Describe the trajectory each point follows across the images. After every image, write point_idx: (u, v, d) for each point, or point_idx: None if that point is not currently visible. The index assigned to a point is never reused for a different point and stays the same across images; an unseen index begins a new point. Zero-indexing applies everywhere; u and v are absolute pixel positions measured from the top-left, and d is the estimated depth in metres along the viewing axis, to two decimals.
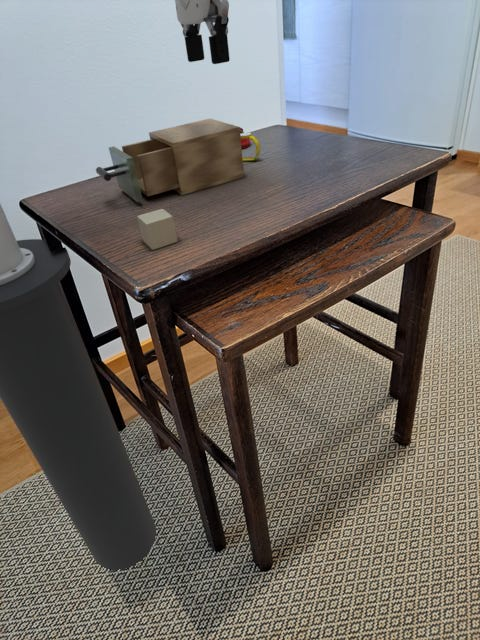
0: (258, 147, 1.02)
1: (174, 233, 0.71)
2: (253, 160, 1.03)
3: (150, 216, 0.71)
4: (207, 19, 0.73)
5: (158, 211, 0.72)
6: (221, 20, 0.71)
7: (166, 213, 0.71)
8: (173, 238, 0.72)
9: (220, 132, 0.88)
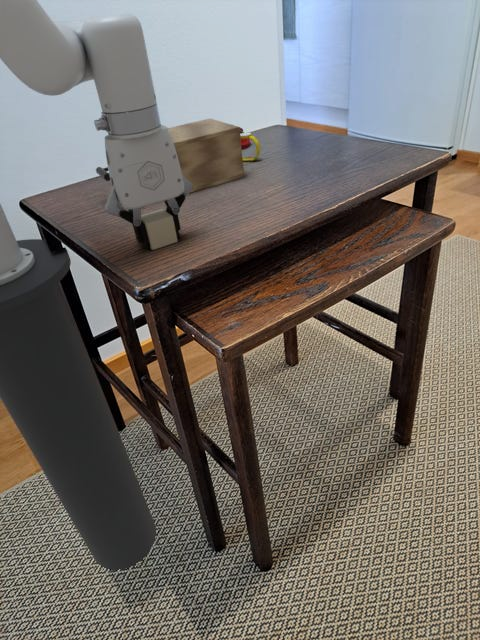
0: (258, 147, 1.02)
1: (174, 233, 0.71)
2: (253, 160, 1.04)
3: (150, 216, 0.71)
4: (173, 198, 0.69)
5: (158, 211, 0.72)
6: None
7: (166, 213, 0.71)
8: (173, 238, 0.72)
9: (220, 132, 0.88)
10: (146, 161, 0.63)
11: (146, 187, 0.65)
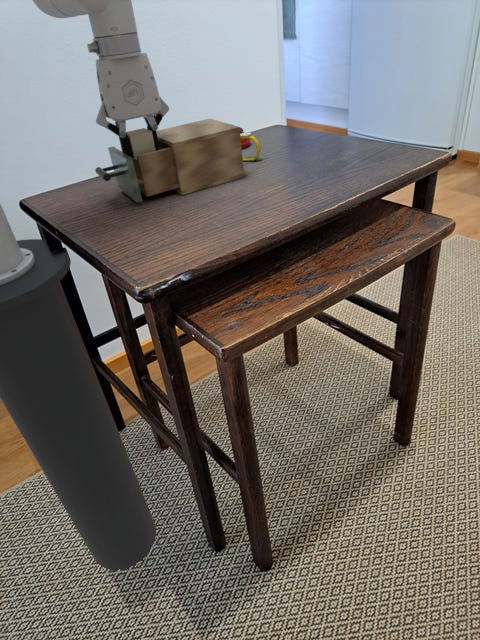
0: (258, 147, 1.02)
1: (153, 146, 0.87)
2: (253, 160, 1.04)
3: (134, 132, 0.86)
4: (152, 116, 0.85)
5: (140, 129, 0.88)
6: None
7: (147, 130, 0.87)
8: None
9: (220, 132, 0.88)
10: (129, 80, 0.79)
11: (129, 102, 0.81)
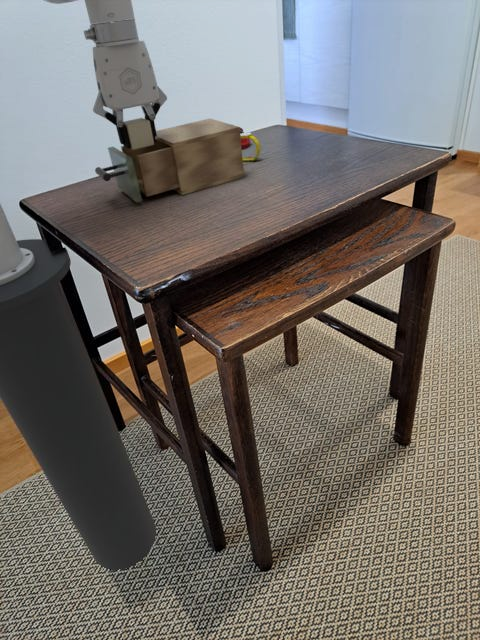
0: (258, 147, 1.02)
1: (151, 136, 0.86)
2: (253, 160, 1.04)
3: (131, 121, 0.85)
4: (149, 105, 0.84)
5: (138, 119, 0.87)
6: None
7: (144, 119, 0.86)
8: (151, 141, 0.86)
9: (220, 132, 0.88)
10: (126, 68, 0.78)
11: (126, 91, 0.80)
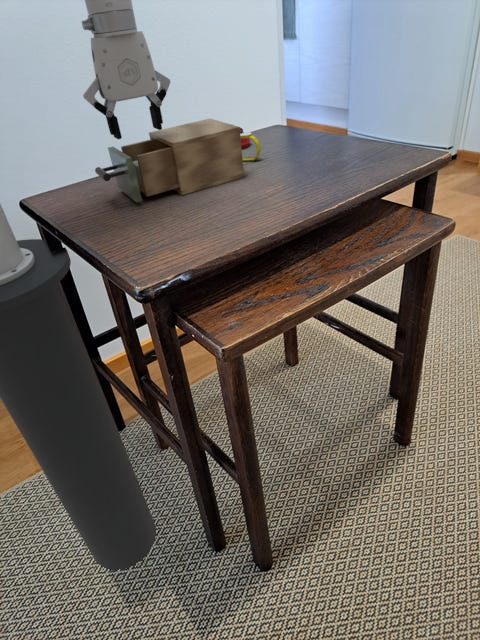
0: (258, 147, 1.02)
1: None
2: (253, 159, 1.04)
3: None
4: None
5: None
6: None
7: None
8: None
9: (220, 132, 0.88)
10: (125, 59, 0.77)
11: (125, 82, 0.79)
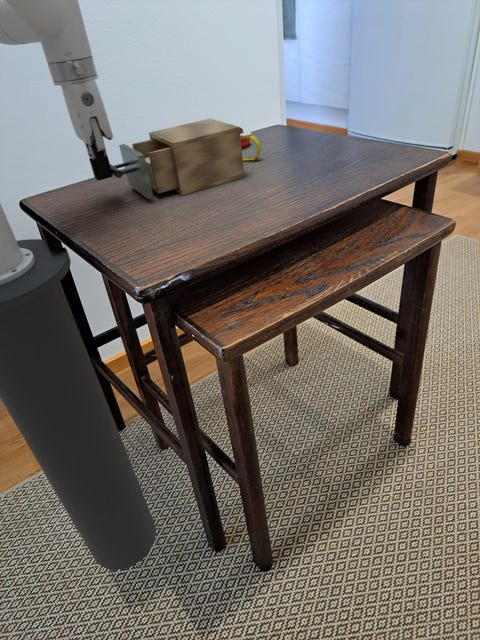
0: (258, 147, 1.02)
1: None
2: (253, 160, 1.04)
3: None
4: None
5: None
6: None
7: None
8: None
9: (220, 132, 0.88)
10: None
11: None
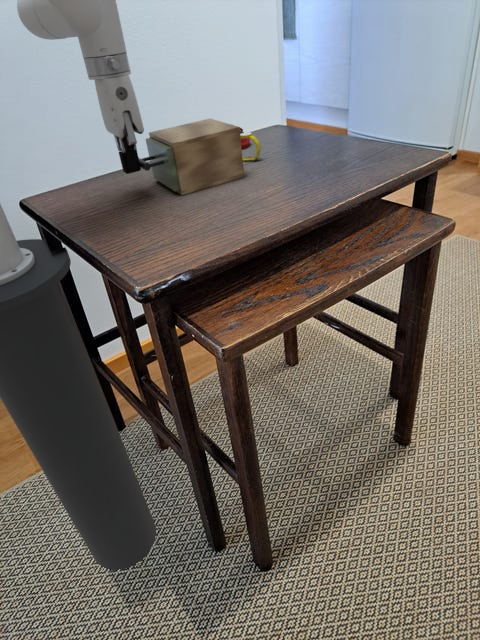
0: (258, 147, 1.02)
1: None
2: (253, 160, 1.04)
3: None
4: None
5: None
6: None
7: None
8: None
9: (220, 132, 0.88)
10: None
11: None
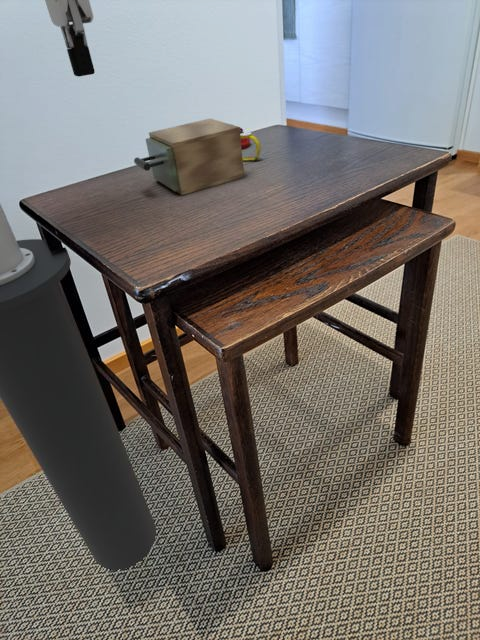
0: (258, 147, 1.02)
1: None
2: (253, 160, 1.04)
3: None
4: None
5: None
6: None
7: None
8: None
9: (220, 132, 0.88)
10: None
11: None
